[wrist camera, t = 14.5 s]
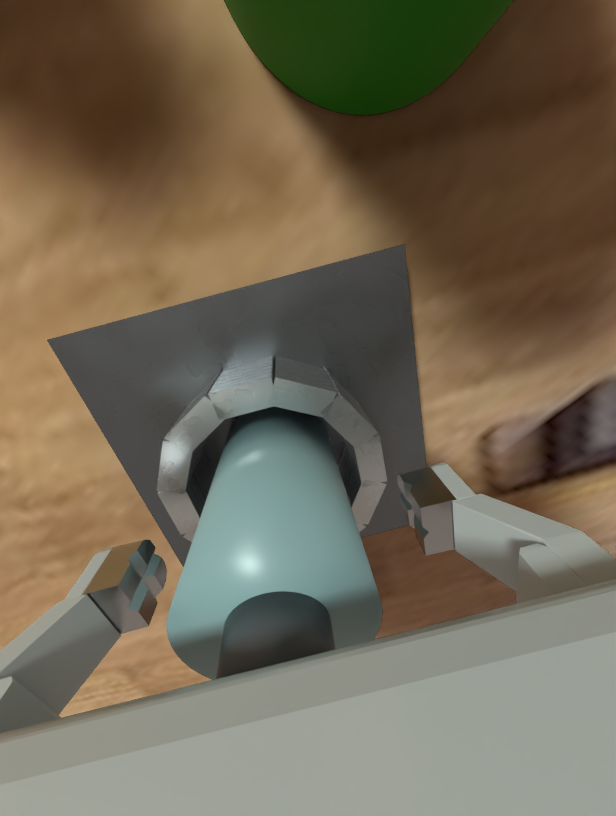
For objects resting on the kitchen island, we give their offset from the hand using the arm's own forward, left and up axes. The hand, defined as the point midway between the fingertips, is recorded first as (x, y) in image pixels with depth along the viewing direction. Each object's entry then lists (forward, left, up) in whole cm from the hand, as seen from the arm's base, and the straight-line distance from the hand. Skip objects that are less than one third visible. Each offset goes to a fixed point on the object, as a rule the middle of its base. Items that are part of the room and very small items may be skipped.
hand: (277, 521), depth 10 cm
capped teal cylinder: (0, 0, -5) cm, 5 cm away
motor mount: (0, 0, -6) cm, 6 cm away
